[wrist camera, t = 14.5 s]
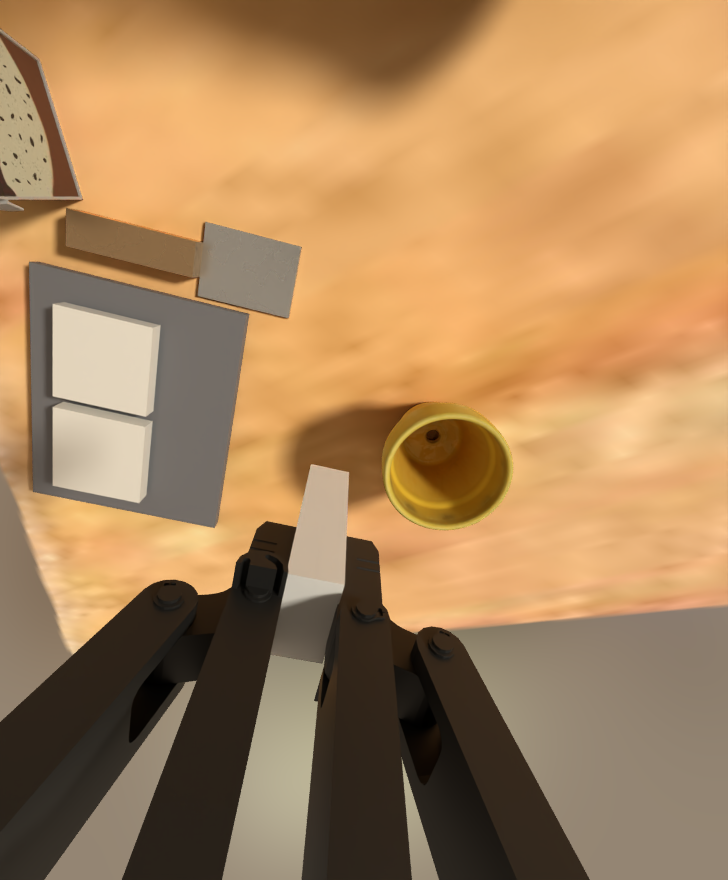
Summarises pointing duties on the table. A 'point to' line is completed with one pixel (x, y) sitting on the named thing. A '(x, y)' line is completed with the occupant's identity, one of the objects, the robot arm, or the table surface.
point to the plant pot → (446, 466)
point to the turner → (199, 258)
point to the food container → (30, 133)
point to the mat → (176, 391)
